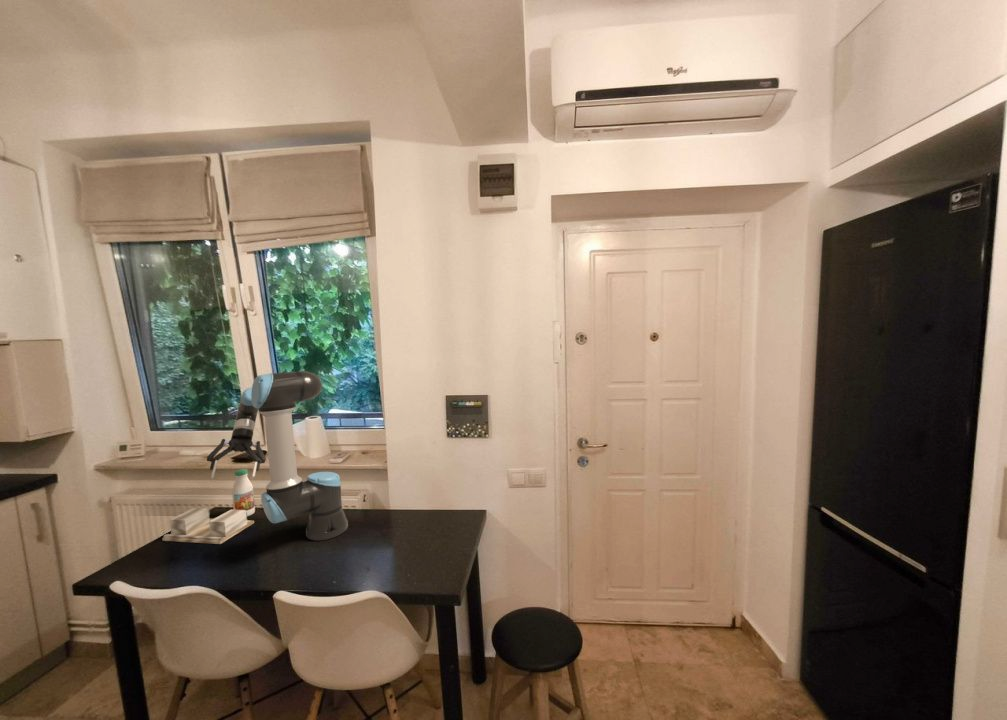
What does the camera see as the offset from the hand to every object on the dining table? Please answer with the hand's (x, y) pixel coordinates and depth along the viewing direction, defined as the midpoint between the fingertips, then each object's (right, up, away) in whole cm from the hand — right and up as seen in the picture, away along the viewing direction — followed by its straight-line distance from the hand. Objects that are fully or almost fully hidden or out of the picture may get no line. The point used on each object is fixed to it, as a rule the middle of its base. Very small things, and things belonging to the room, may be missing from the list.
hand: (233, 477), depth 151 cm
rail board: (-10, -22, +1) cm, 25 cm away
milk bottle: (-6, -22, +16) cm, 27 cm away
